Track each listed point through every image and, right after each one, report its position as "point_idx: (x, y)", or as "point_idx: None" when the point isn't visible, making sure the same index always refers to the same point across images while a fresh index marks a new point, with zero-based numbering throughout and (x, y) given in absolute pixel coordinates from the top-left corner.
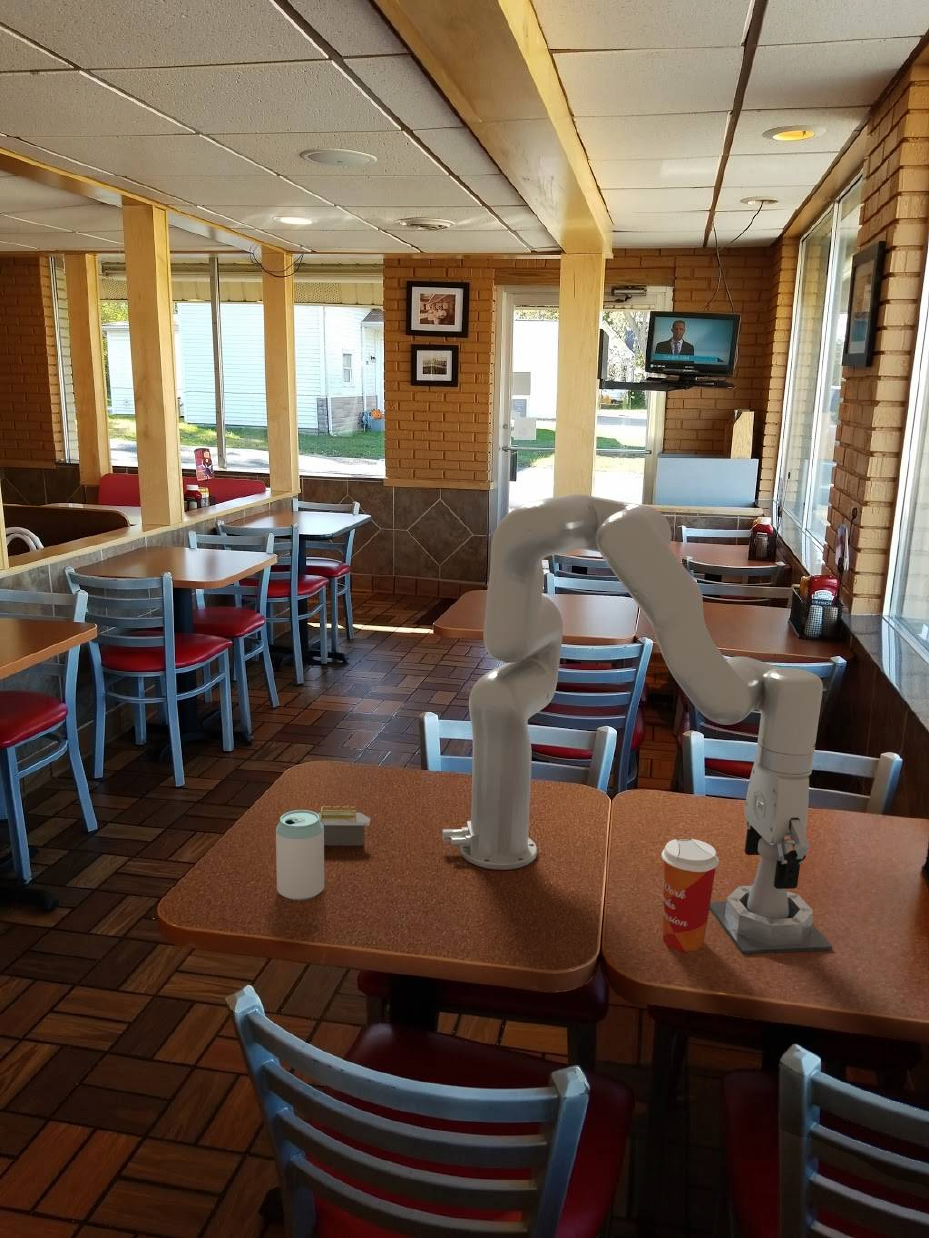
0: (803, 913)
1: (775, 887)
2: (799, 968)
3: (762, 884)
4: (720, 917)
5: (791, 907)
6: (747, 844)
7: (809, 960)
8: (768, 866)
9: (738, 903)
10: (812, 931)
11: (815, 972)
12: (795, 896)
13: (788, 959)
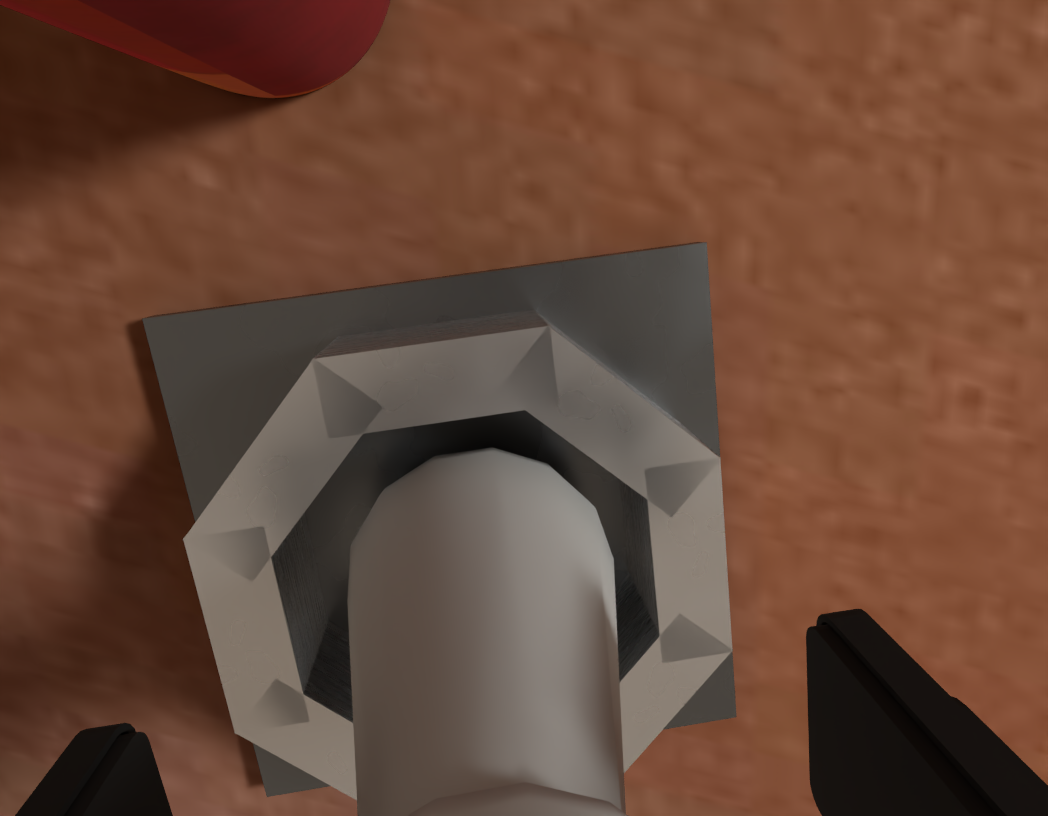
0: None
1: (84, 730)
2: (66, 586)
3: (395, 618)
4: (524, 279)
5: None
6: (887, 686)
7: (156, 654)
8: (386, 785)
9: (473, 392)
10: None
11: (42, 652)
12: None
13: (148, 554)
